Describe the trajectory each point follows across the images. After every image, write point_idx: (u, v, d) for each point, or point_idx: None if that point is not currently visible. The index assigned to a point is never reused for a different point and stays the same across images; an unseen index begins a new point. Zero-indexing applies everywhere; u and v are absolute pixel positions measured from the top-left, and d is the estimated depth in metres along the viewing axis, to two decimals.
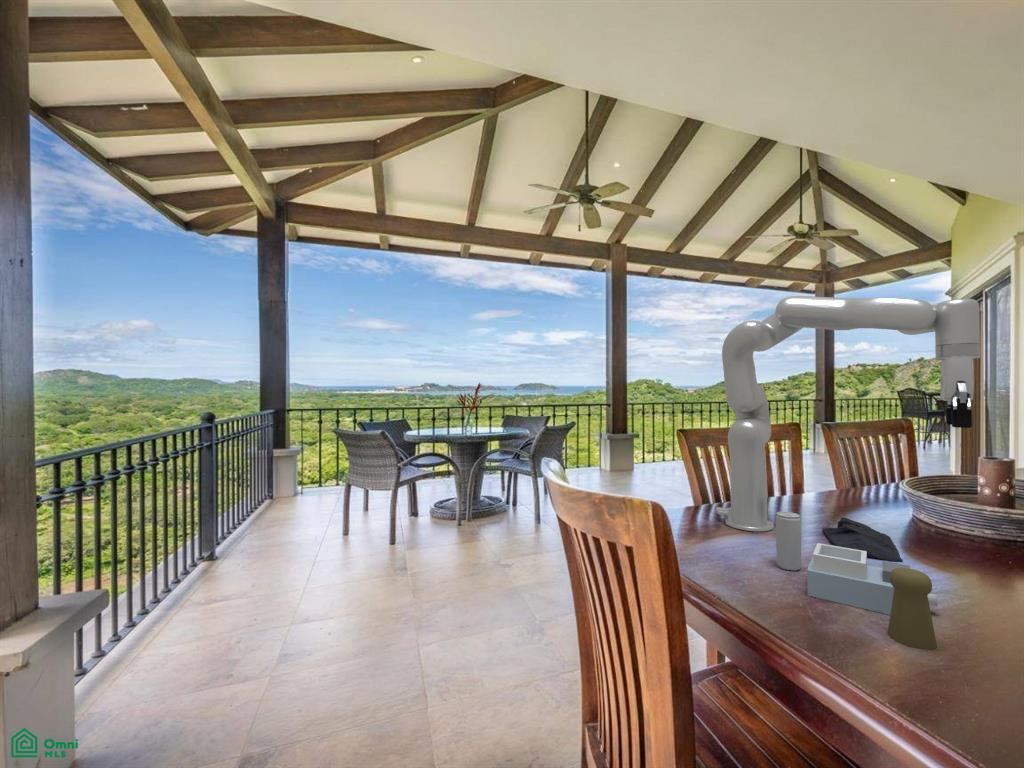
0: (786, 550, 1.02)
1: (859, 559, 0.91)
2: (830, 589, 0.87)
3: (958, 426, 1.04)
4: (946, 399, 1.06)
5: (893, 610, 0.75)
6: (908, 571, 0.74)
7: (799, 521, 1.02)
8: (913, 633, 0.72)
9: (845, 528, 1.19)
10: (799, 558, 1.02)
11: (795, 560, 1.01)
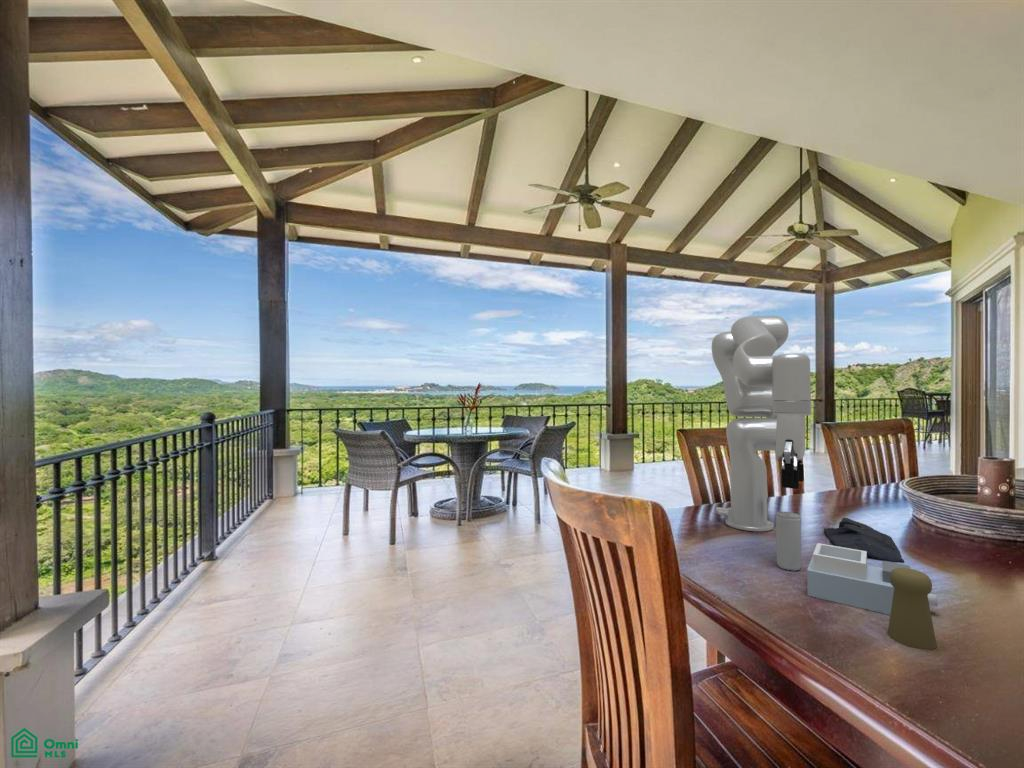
0: (786, 550, 1.02)
1: (859, 559, 0.91)
2: (830, 589, 0.87)
3: (787, 486, 1.00)
4: (777, 457, 1.02)
5: (893, 610, 0.75)
6: (908, 571, 0.74)
7: (799, 521, 1.02)
8: (913, 633, 0.72)
9: (846, 528, 1.19)
10: (799, 558, 1.02)
11: (795, 560, 1.01)
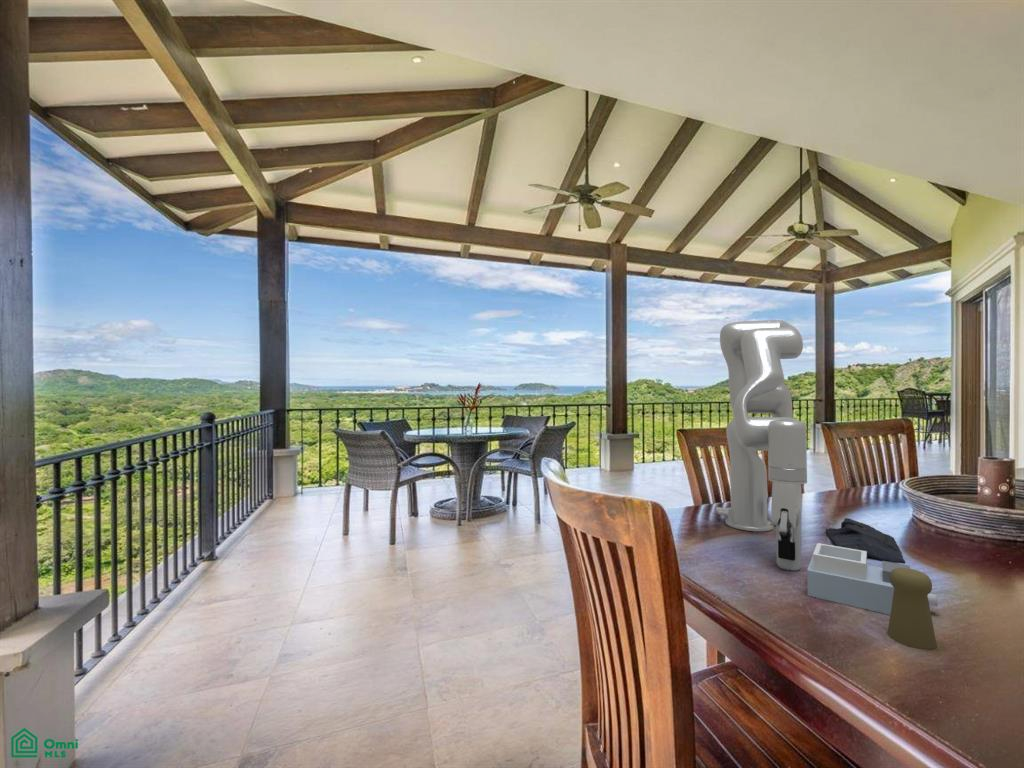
0: None
1: (859, 559, 0.91)
2: (830, 589, 0.87)
3: (783, 557, 1.02)
4: (772, 525, 1.02)
5: (893, 610, 0.75)
6: (908, 571, 0.74)
7: (799, 521, 1.02)
8: (913, 633, 0.72)
9: (848, 529, 1.19)
10: (799, 558, 1.02)
11: (795, 560, 1.01)
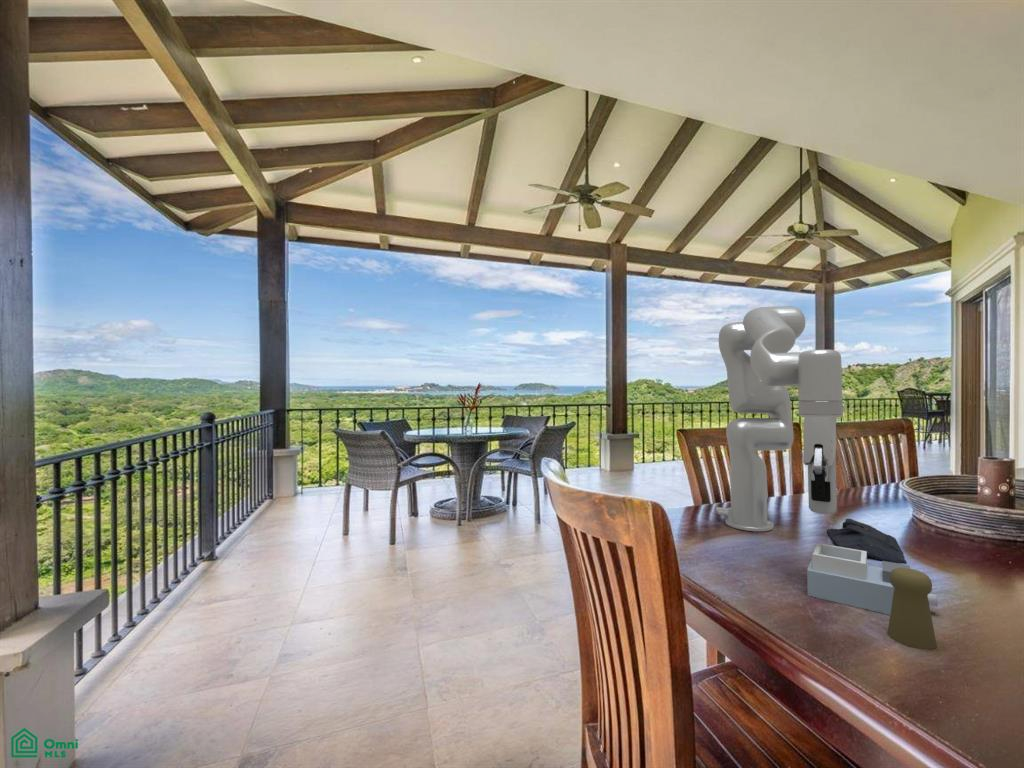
0: None
1: (859, 559, 0.91)
2: (830, 589, 0.87)
3: (817, 499, 0.92)
4: (805, 464, 0.93)
5: (893, 610, 0.75)
6: (908, 571, 0.74)
7: (834, 459, 0.93)
8: (913, 633, 0.72)
9: (849, 529, 1.19)
10: (834, 500, 0.92)
11: (830, 502, 0.92)
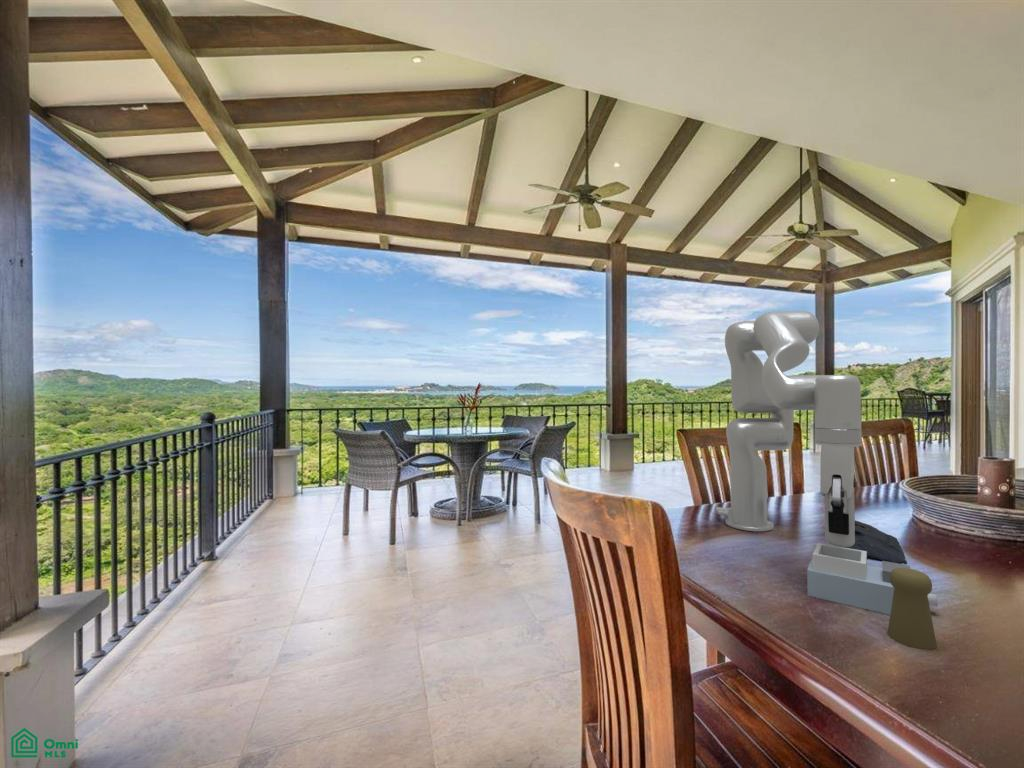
0: None
1: (859, 559, 0.91)
2: (830, 589, 0.87)
3: (835, 532, 0.89)
4: (822, 494, 0.89)
5: (893, 610, 0.75)
6: (908, 571, 0.74)
7: (853, 490, 0.89)
8: (913, 633, 0.72)
9: None
10: (853, 532, 0.89)
11: (849, 534, 0.88)
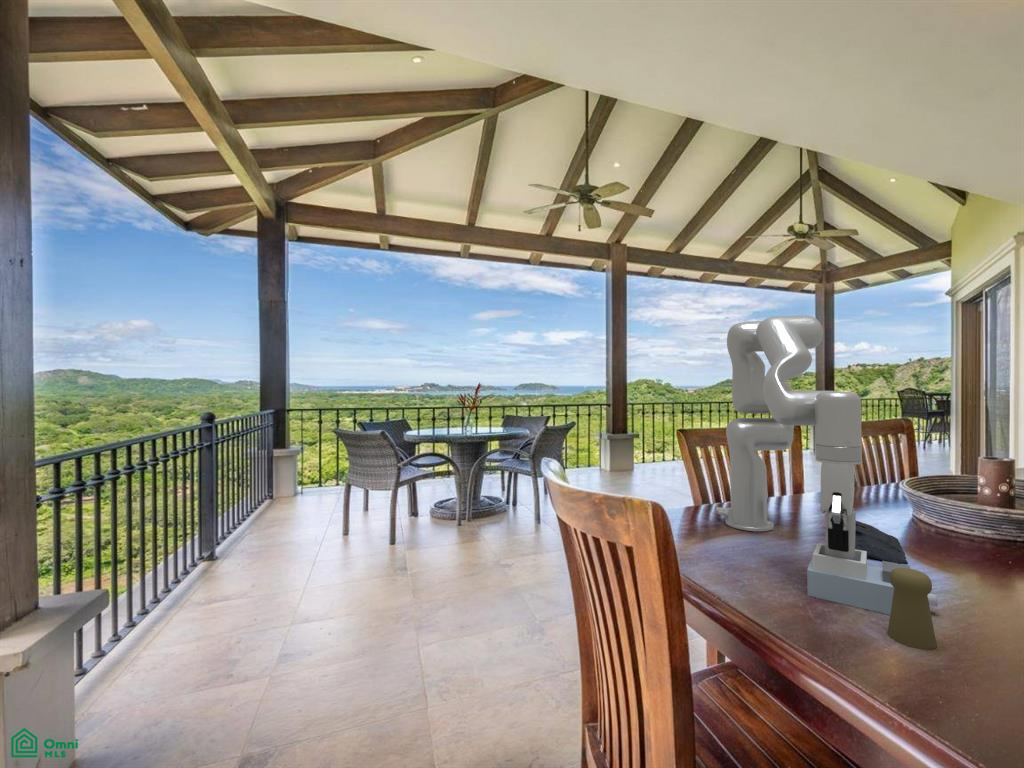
0: None
1: (859, 559, 0.91)
2: (830, 589, 0.87)
3: (834, 548, 0.88)
4: (822, 512, 0.89)
5: (893, 610, 0.75)
6: (908, 571, 0.74)
7: (854, 514, 0.89)
8: (913, 633, 0.72)
9: None
10: (853, 556, 0.89)
11: (849, 558, 0.88)
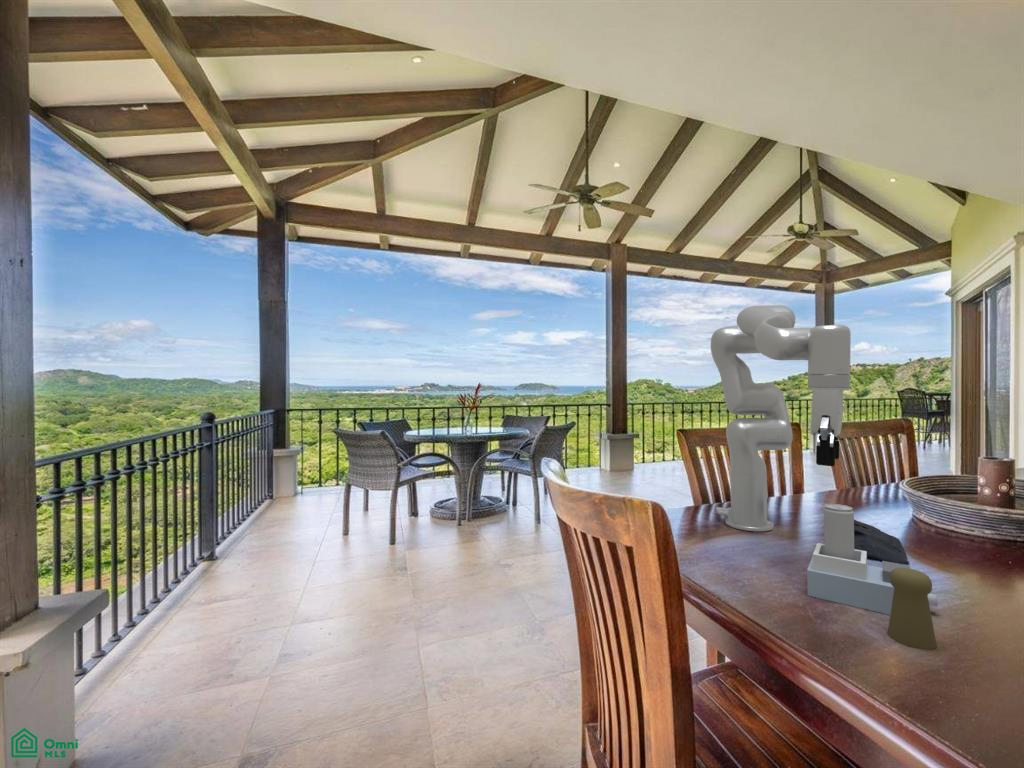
0: (837, 548, 0.89)
1: (859, 559, 0.91)
2: (830, 589, 0.87)
3: (822, 464, 0.96)
4: (812, 434, 0.98)
5: (893, 610, 0.75)
6: (908, 571, 0.74)
7: (852, 514, 0.89)
8: (913, 633, 0.72)
9: None
10: (852, 557, 0.89)
11: (849, 559, 0.88)
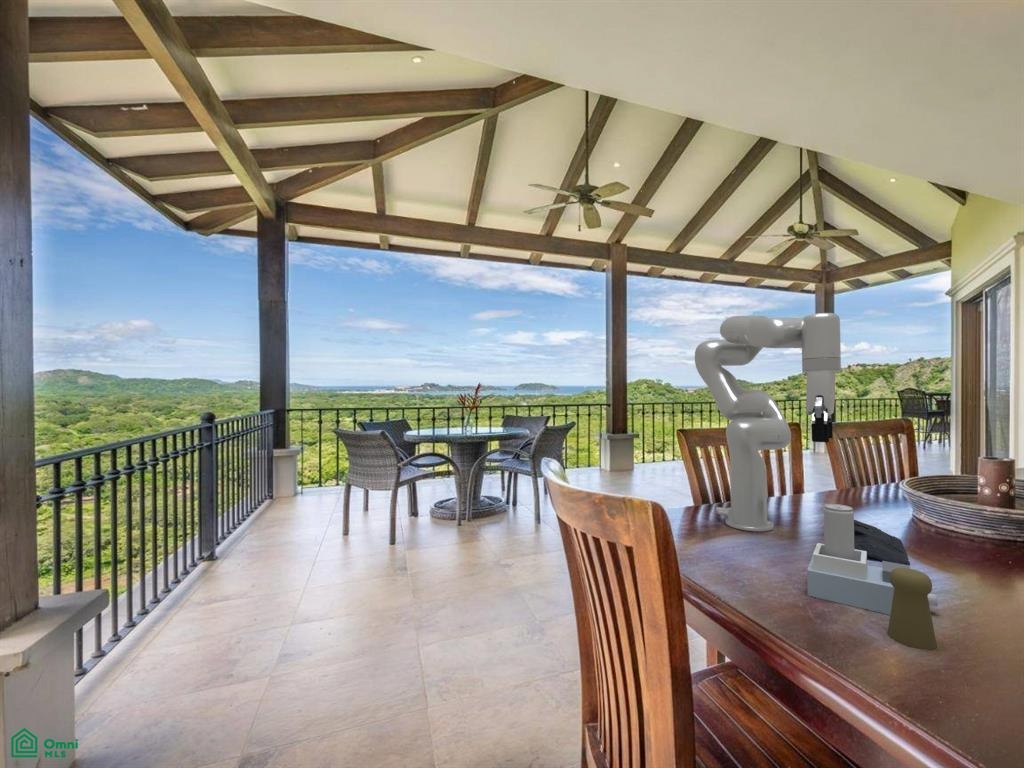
0: (837, 548, 0.89)
1: (859, 559, 0.91)
2: (830, 589, 0.87)
3: (817, 440, 1.04)
4: (807, 413, 1.06)
5: (893, 610, 0.75)
6: (908, 571, 0.74)
7: (852, 514, 0.89)
8: (913, 633, 0.72)
9: None
10: (852, 557, 0.89)
11: (849, 559, 0.88)
